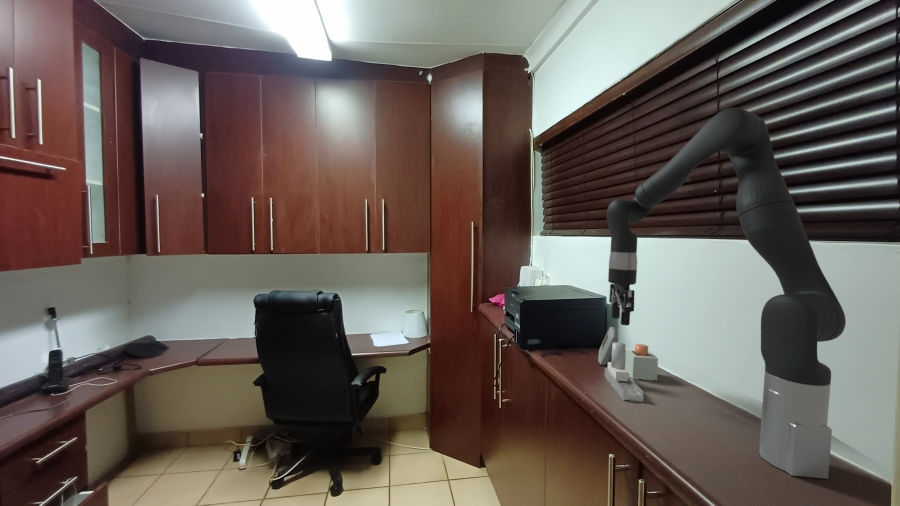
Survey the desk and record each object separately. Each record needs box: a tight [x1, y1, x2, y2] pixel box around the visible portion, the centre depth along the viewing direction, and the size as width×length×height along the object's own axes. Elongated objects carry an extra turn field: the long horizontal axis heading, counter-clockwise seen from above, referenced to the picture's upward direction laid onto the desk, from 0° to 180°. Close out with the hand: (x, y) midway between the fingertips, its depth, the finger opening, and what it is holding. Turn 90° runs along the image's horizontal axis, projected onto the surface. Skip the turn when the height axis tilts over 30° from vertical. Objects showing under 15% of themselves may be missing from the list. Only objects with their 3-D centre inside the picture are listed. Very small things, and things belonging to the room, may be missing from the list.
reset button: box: [634, 343, 649, 356], centre depth 114 cm, size 4×4×3 cm
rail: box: [604, 367, 645, 403], centre depth 105 cm, size 17×5×3 cm, turn 173°
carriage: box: [607, 341, 629, 382], centre depth 109 cm, size 8×4×10 cm, turn 173°
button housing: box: [624, 349, 659, 382], centre depth 115 cm, size 7×7×7 cm
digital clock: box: [597, 326, 619, 366], centre depth 129 cm, size 16×9×11 cm, turn 145°
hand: (619, 321), depth 109 cm, fingers open, 8 cm apart
